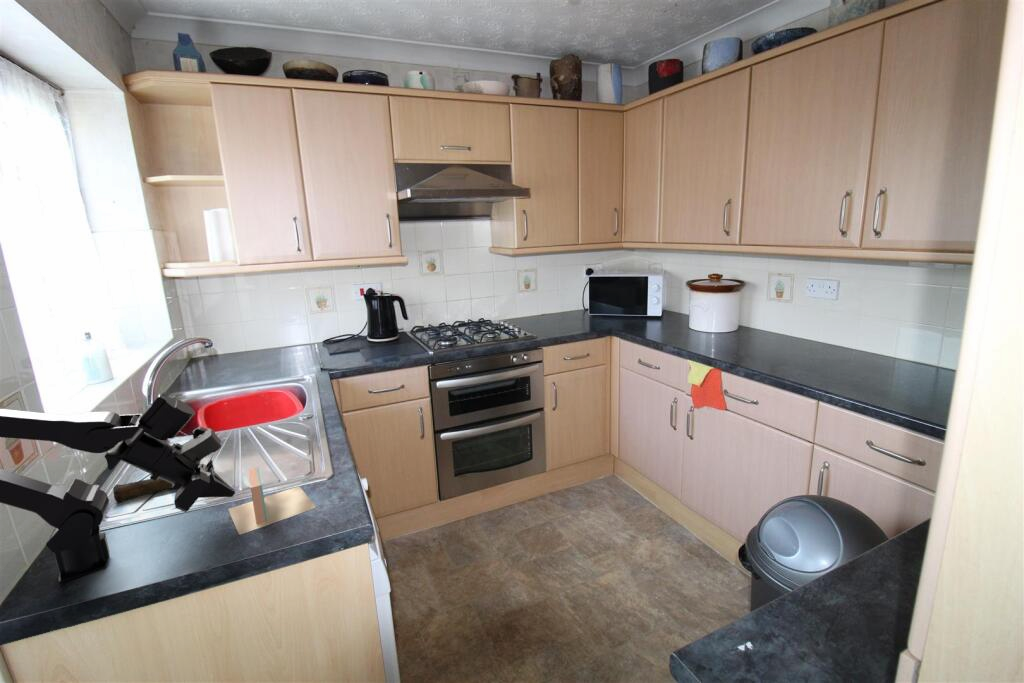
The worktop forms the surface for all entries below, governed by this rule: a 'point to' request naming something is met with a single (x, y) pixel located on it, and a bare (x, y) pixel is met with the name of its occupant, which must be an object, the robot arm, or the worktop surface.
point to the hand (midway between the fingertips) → (233, 494)
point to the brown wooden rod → (140, 488)
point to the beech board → (271, 509)
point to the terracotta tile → (257, 495)
